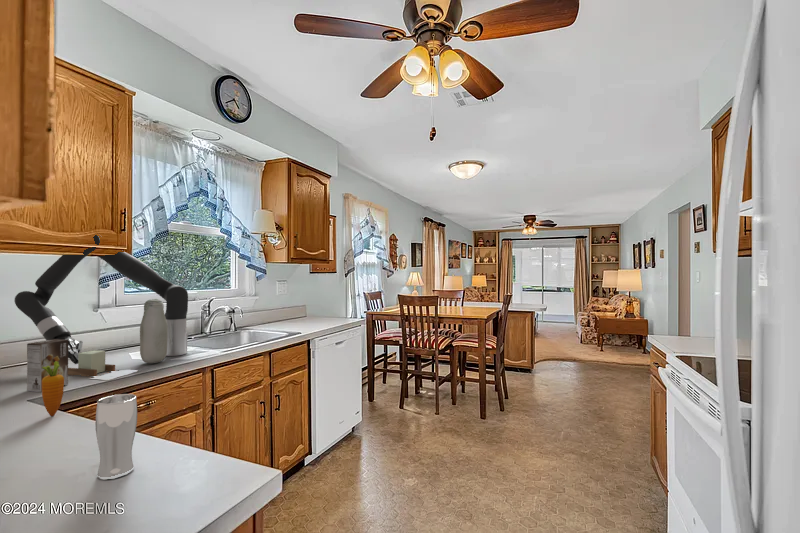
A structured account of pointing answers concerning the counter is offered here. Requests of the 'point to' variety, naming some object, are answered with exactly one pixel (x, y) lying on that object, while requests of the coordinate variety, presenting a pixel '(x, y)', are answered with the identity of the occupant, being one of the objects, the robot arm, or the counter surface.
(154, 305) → the grey bottle
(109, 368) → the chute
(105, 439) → the beer glass
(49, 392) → the carrot
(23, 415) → the counter surface
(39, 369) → the coffee box
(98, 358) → the block
